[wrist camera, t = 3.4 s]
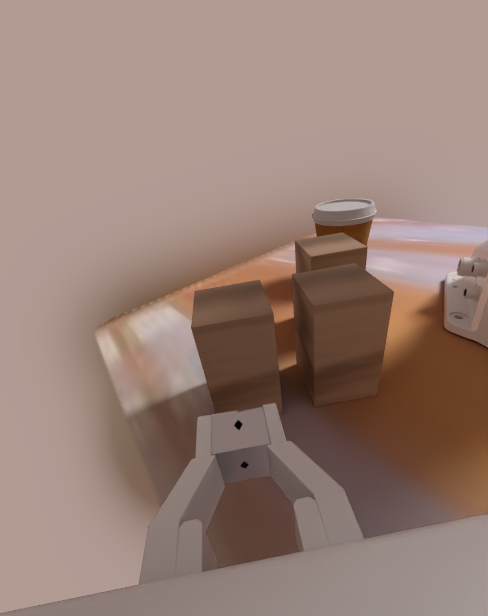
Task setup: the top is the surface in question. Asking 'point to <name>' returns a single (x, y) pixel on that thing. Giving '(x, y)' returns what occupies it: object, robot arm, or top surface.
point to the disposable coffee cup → (345, 218)
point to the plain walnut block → (237, 346)
